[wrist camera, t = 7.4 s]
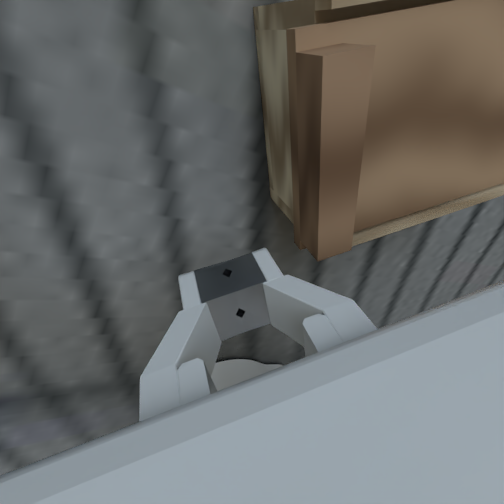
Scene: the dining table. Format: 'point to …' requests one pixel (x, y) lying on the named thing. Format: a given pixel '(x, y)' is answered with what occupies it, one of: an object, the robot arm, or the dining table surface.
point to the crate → (277, 101)
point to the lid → (393, 116)
